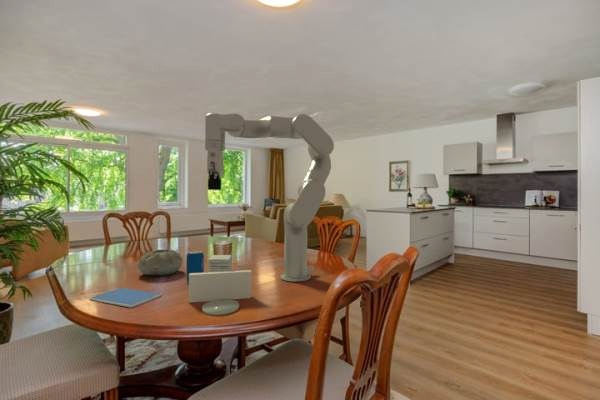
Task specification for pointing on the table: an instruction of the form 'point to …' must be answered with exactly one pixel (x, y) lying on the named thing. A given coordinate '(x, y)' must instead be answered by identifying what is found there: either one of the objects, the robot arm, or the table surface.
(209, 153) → the robot arm
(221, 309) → the round plate
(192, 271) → the beverage can
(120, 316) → the table surface
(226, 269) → the supplement box
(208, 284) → the painted screen
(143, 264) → the grey rounded lump
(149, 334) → the table surface
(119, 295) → the blue flat slab
